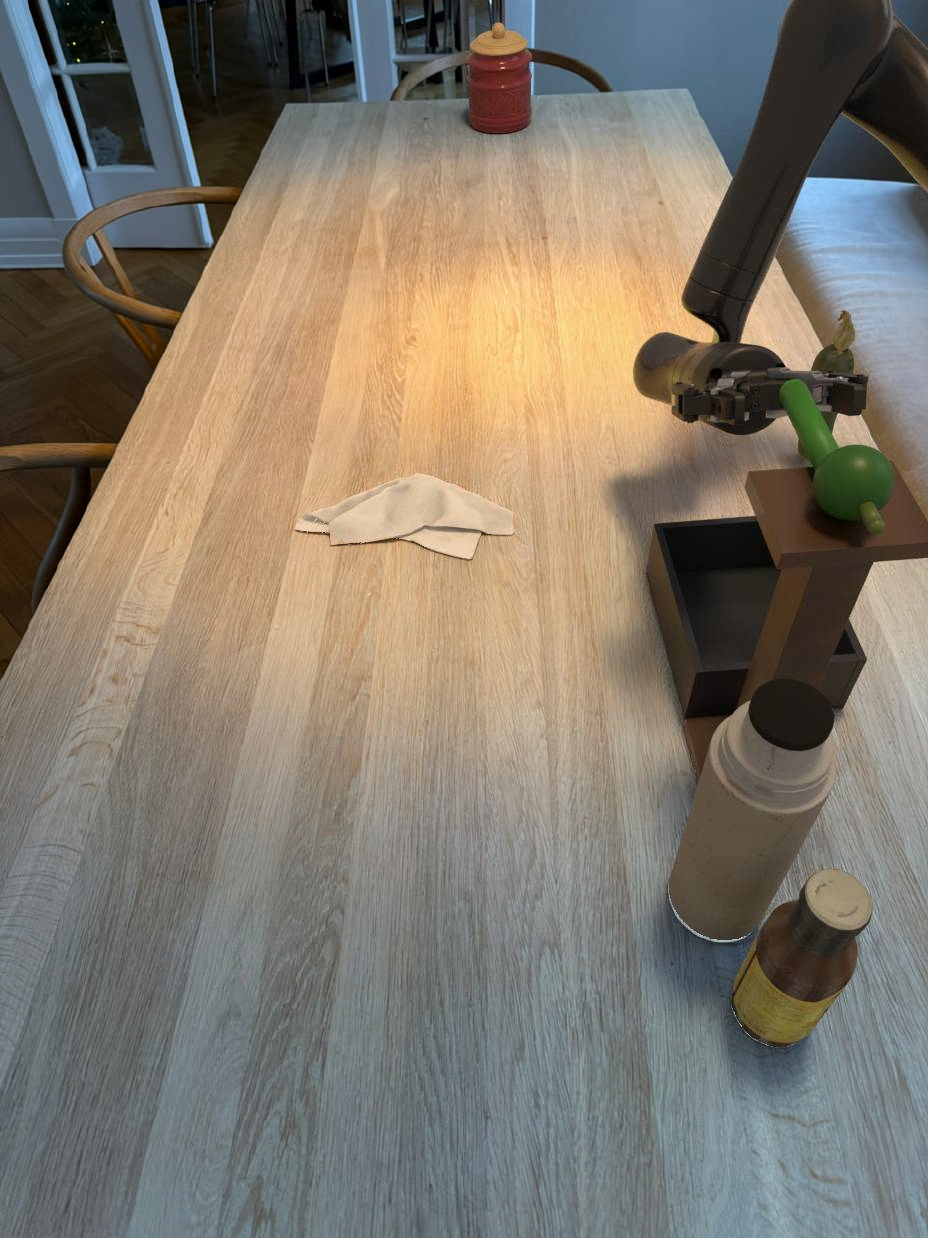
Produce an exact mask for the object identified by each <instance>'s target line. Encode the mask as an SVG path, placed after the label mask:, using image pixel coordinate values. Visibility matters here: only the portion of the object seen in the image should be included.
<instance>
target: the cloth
mask: <svg viewBox="0 0 928 1238" xmlns="http://www.w3.org/2000/svg"><path fill="white" fill-rule="evenodd" d="M514 513H515V512H514V511H512V510H510V509H508V508H506V507H504V506H501V505H499V504H497V503H495V502H492V501H491V500H488V499H486V498H485V497H482V496H481V495H479V494H477V493H475V492H472V491H469V490H467V489H465V488H463V487H461V486H458V485H457V484H454V483H452V482H451V483H449V482H447V481H445V480H442V479H440V478H438V477H436V476H432V475H430V474H425V473H419V472H415V473H414V474H411V476H409V477H396V478H394V479H391V480H389V481H387V482H384V483H382V484H380V485H377V486H375V487H372V488H369V489H367V490H365V491H362V492H359V493H355V494H354V495H351V496H349V497H347V498H345V499H344V500H342V501H339V502H338V503H336V504H334V505H333V506H328V507H327V506H326V507H322V508H319V509H317V510H314V511H312V512H305V513H303V514H302V515H300V516H299V518H298V520H297V522H296V525H295V527H294V529H295V531H297V530H300V531H299V532H303V531H307V532H306V533H308V531H312V532H313V531H321V532H322V533H321V534H329V542H330V541H331V542H333V543H334V541H336V540H337V539H338V540H339V541H341V539H342V540H343V541H344V542H345V543H346V542H347V541H348V542H349V543H350V542H354V541H355V542H358V543H359V542H361V543H360V544H365V542H366V543H372V542H378V541H383V540H388V539H394V538H396V540H404V541H407V542H414V543H416V544H417V545H419V544H420V546H421V545H422V546H421V547H423V546H424V547H423V548H425V547H426V548H425V549H428V550H431V551H433V552H436V553H440V554H443V555H447V556H451V557H454V558H458V559H463V560H469V561H470V560H472V559H473V558H474V555H475V553H476V549H477V546H478V544H479V541H480V538H481V536H482V534H483V533H484V534H487V535H489V534H491V535H490V536H513V535H514V534H515V531H514V529H515V527H514ZM316 518H317V520H316V521H315V519H316ZM314 521H315V522H314ZM313 522H314V524H313ZM320 522H321V523H320ZM324 522H325V523H324ZM318 523H320V524H319V526H318V527H317V528H316V526H317V524H318ZM323 523H324V524H323ZM312 524H313V525H312ZM312 528H313V529H312ZM315 528H316V529H315ZM314 529H315V530H314ZM323 532H325V533H323ZM513 533H514V534H513ZM398 538H399V539H398Z"/></svg>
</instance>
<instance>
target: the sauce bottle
mask: <svg viewBox="0 0 928 1238" xmlns="http://www.w3.org/2000/svg"><path fill="white" fill-rule="evenodd" d="M873 909H874V908H873V900H872V897H871V894H870V893H869V891H868V889H867V887H866V886H865V885H863V884H862V882H860V880H859V879H858V878H857V877H856V876H854V875H853V874H851V873H848V872H846V871H843V870H840V869H837V868H824V869H820V870H817V871H815V872H814V873H813V874H811V875H810V876H809V878H808V879H807V880H806V881H805V883H804V885H803V886H802V887H801V888H800V891H799V894H798V899H794V900H789V901H787V902H784V903H782V904H780V905H778V906H776V908H774V909H773V910H772V911H771V912H770V914H769V915H768V917H767V918H766V920H765V922H764V924H762V926H761V928H760V929H759V931H758V933H757V934H756V937H755V939H754V941H753V942H752V944H751V946H750V949H749V950H748V952H747V955H746V957H745V958H744V960H743V962H742V964H741V966H740V968H739V970H738V972H737V974H736V976H735V978H734V982H733V988H732V990H733V991H732V990H731V995H732V1000H731V999H730V1007H731V1006H732V1008H733V1011H734V1012H735V1015H736V1018H737V1020H738V1021H739V1023H740V1024H741V1025H742V1028H743V1029H744V1030H745V1031H746V1032H747V1033H748V1034H749V1035H750V1036H751V1037H752V1038H754V1039H756V1040H758V1041H759V1042H762V1043H764V1044H767V1045H769V1046H773V1047H780V1048H788V1047H787V1046H789V1047H791V1045H792V1044H794V1043H795V1044H796V1043H798V1042H799V1041H800V1042H801V1040H803V1039H805V1038H806V1037H807V1036H808V1035H810V1034H811V1033H812V1031H814V1029H815V1028H816V1026H817V1025H818V1023H819V1022H820V1021H821V1019H822V1018H823V1016H824V1015H825V1014H826V1013H827V1011H829V1009H830V1007H831V1006H832V1005H833V1003H834V1002H835V1001H836V1000H837V998H838V997H839V996H840V995H841V993H842V992H843V990H845V988H846V987H847V986H848V984H849V983H850V981H851V980H852V978H853V976H854V974H855V971H856V968H857V963H858V955H859V950H858V943H857V939H856V937H858V936H859V935H860V934H861V933H862V932H864V930H865V929H866V927H868V925H869V924H870V923H871V920H872V916H873ZM732 1008H731V1009H732ZM742 1028H741V1029H742ZM743 1029H742V1030H743ZM752 1038H751V1039H752ZM759 1042H758V1043H759ZM764 1044H763V1045H764ZM795 1044H794V1045H795ZM769 1046H768V1047H769ZM792 1046H793V1045H792Z"/></svg>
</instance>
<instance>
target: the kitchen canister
mask: <svg viewBox="0 0 928 1238" xmlns="http://www.w3.org/2000/svg"><path fill="white" fill-rule="evenodd" d="M528 44H529V42H528V40H527V39H526V38H525V37H523V36H522V35H521V34H520V33H519V32H517V31H514V30H511V29H510V30H509V29H506V27H505V25H504V24H503V23H502V22H495V23H494V24H493V25H492V28H491V30H487V31H483V32H482V33H479V34H478V35H477V37H476V38H474V39H473V40H472V41H471V42H470V43H469V48H470V50H471V52H470V53H468V55H467V56H466V57H465V58H466V59H465V62H466V64H467V65H468V69H469V70H468V75H466V81H467V89H468V90H467V91H468V110H467V111H468V119H469V124H470V126H471V127H472V128H473V129H474V130H476V131H479V132H483V133H486V134H508V133H513V132H517V131H519V130H522V129H524V128H525V127H527V126H528V125H529V124H530V123H531V118H532V113H533V111H532V110H533V107H532V79H533V74H532V71H531V69H530V62H531V61H532V59H533V54H532V53H531V52H530V50H529V49H527V47H528Z"/></svg>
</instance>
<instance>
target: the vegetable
mask: <svg viewBox="0 0 928 1238" xmlns="http://www.w3.org/2000/svg"><path fill="white" fill-rule="evenodd" d="M840 312H841V313H840V315H839V317H838V318H837V321H838V322H840V321H841V322H840V324H839V325H838V328H837V330H836V333H835V334H834V336H833V339H832V343H830V344H828V345H826V346H824V348H822V349H821V350H820V351H819V352H818V353H817V355H816V356H815V358H814V360H813V362H812V366H811V368H810V371H820V372H821V373H822V374H823V372H827V371H828V370H834V372H843V373H851V374H854V369H855V357H854V354H853V352H852V350H851V349H850V348H849V347H850V346H851V345H852V344H853V343H854V341H855V338H856V330H855V328H854V326H855V325H854V323H853V322H852V315H851V313H850V312H849V311H847V310H845V309H842V310H840ZM821 414H822V416H823V418H824V420H825V422H826V424H827V426H828V427H829V429H830V431H831V433H832V434H833V432H834V429H835V423H836V420H837V418H838V417H837V416H838V414H839V413H834V412H828V411H821ZM797 452H798V456H800V457H801V458H802V459H803V461H810V460H809V458H808V456H807V454H806V452H805V450H804V448H803V446H802V444H801V442H800V440H799V438H798V440H797Z"/></svg>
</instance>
